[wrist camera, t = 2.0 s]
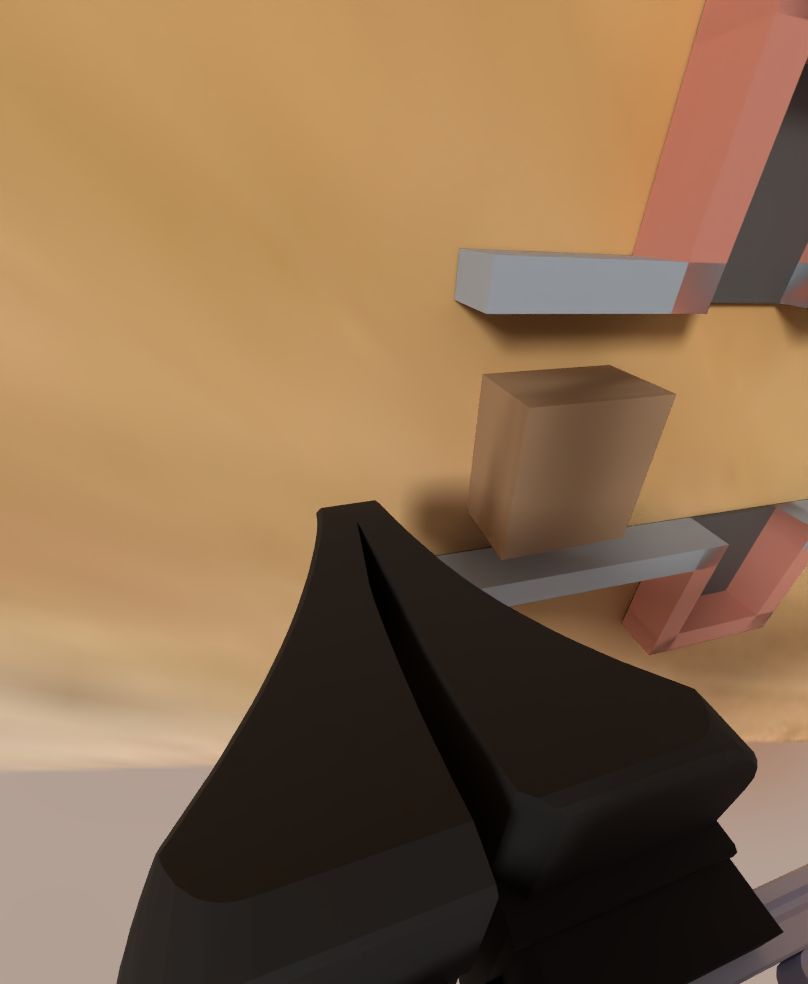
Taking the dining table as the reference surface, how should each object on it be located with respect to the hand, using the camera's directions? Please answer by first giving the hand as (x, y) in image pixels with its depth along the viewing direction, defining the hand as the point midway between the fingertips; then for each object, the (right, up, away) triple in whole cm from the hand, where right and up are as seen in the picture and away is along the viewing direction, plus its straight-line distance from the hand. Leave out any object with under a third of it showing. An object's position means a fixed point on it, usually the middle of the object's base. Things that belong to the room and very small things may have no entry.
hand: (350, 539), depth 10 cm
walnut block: (+6, +3, +5) cm, 8 cm away
